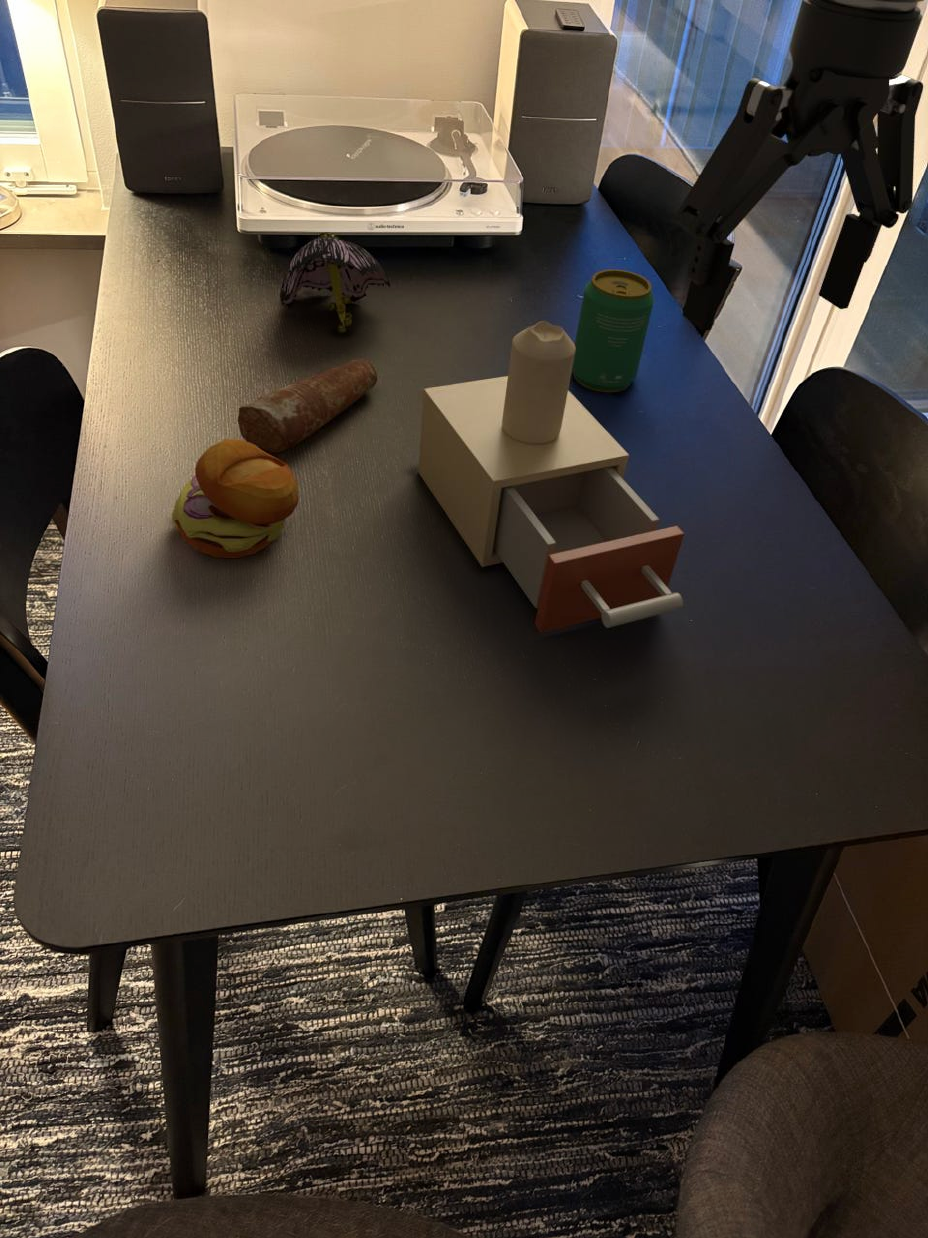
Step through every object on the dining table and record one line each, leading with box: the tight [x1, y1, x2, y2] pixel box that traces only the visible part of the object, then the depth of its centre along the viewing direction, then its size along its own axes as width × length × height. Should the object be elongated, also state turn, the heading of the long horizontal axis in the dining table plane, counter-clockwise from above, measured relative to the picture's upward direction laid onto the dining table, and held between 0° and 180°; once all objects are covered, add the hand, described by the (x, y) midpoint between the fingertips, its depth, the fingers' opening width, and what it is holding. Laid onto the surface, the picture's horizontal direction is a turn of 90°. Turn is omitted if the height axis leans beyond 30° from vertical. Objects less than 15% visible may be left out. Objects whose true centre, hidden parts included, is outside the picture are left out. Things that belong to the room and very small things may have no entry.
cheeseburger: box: [171, 438, 299, 559], centre depth 88 cm, size 10×11×10 cm
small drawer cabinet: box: [417, 375, 630, 568], centre depth 94 cm, size 16×14×10 cm
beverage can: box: [572, 268, 655, 393], centre depth 114 cm, size 8×8×12 cm
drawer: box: [493, 466, 685, 634], centre depth 86 cm, size 20×13×8 cm, turn 24°
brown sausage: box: [237, 358, 378, 453], centre depth 103 cm, size 6×19×6 cm, turn 145°
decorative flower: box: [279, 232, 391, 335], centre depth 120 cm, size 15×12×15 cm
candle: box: [502, 320, 576, 444], centre depth 87 cm, size 6×6×10 cm
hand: (766, 312), depth 76 cm, fingers open, 13 cm apart
